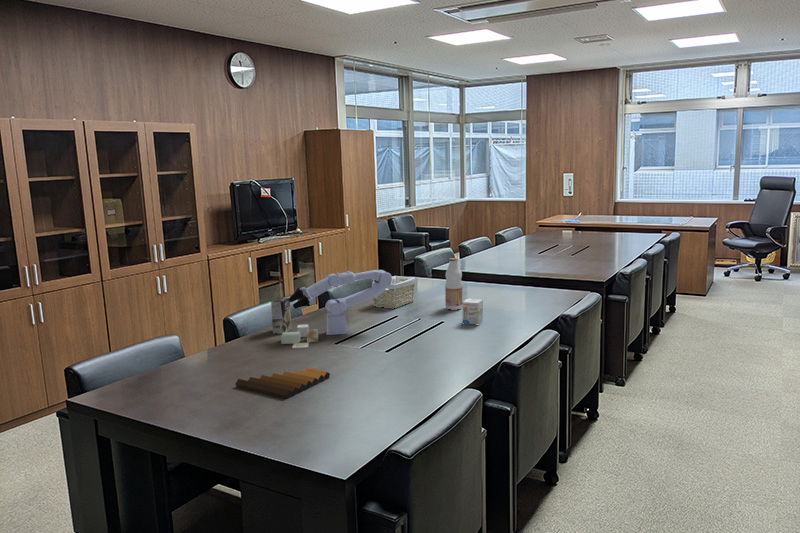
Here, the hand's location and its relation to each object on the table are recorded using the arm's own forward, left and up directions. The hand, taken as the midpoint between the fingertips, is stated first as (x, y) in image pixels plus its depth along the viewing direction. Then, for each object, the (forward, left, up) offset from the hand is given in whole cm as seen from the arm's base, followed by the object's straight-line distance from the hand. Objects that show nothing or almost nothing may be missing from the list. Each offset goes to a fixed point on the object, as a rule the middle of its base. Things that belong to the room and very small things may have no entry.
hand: (291, 303), depth 291 cm
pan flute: (-2, +61, -17) cm, 63 cm away
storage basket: (-53, -59, -17) cm, 81 cm away
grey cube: (-5, -2, -17) cm, 17 cm away
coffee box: (+6, -12, -17) cm, 22 cm away
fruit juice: (-85, -43, -17) cm, 96 cm away
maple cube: (-10, +7, -17) cm, 20 cm away
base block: (0, +7, -16) cm, 18 cm away
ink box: (-89, -11, -17) cm, 91 cm away
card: (-5, +14, -17) cm, 22 cm away
